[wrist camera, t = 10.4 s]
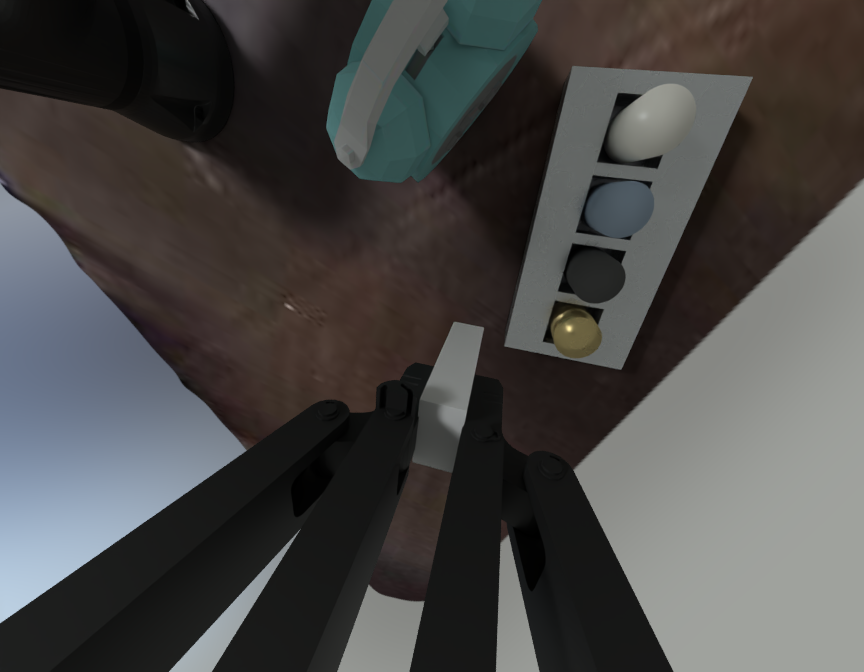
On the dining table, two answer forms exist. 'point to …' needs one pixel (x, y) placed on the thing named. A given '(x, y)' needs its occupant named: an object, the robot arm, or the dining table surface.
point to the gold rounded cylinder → (574, 330)
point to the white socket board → (590, 166)
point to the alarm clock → (422, 80)
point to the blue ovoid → (618, 208)
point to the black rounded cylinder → (594, 274)
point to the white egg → (651, 124)
